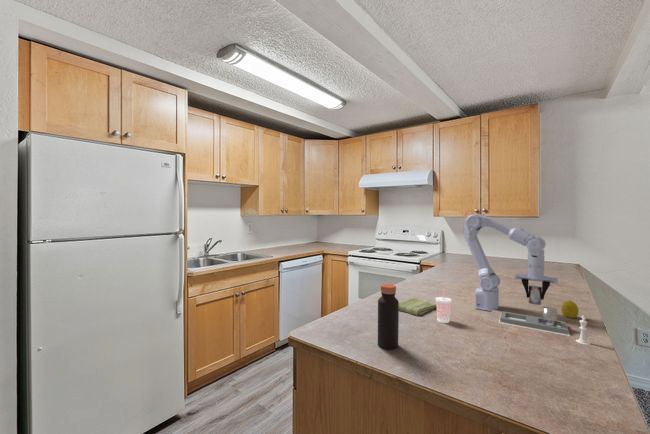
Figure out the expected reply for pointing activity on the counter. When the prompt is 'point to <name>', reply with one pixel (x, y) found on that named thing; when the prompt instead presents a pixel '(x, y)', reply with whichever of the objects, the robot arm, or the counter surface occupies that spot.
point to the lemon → (569, 309)
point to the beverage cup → (443, 308)
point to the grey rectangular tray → (532, 323)
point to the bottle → (388, 317)
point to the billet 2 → (550, 316)
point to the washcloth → (416, 306)
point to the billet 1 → (535, 294)
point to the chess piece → (583, 331)
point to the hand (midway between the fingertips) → (534, 298)
